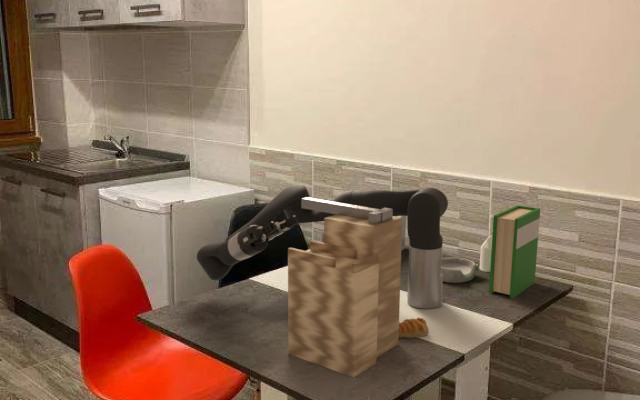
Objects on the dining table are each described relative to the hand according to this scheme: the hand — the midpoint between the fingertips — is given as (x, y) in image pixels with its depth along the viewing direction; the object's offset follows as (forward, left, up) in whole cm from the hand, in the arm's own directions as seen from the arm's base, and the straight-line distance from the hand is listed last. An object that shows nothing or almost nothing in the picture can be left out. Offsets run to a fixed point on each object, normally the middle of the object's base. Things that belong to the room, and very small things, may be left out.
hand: (285, 222), depth 169 cm
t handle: (-14, +12, +5) cm, 19 cm away
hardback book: (-69, -23, -27) cm, 78 cm away
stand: (-15, +19, -27) cm, 36 cm away
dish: (-53, -34, -27) cm, 69 cm away
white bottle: (-67, -41, -27) cm, 83 cm away
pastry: (-32, +10, -28) cm, 43 cm away
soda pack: (-28, -54, -28) cm, 67 cm away
